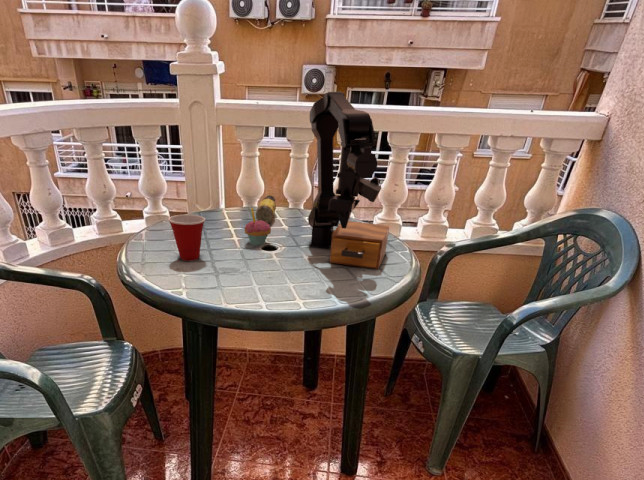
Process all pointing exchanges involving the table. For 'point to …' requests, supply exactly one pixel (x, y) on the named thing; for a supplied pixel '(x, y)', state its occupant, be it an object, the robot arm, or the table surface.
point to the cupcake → (257, 231)
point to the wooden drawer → (355, 252)
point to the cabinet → (364, 237)
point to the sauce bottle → (266, 209)
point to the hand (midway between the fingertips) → (344, 228)
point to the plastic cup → (187, 235)
